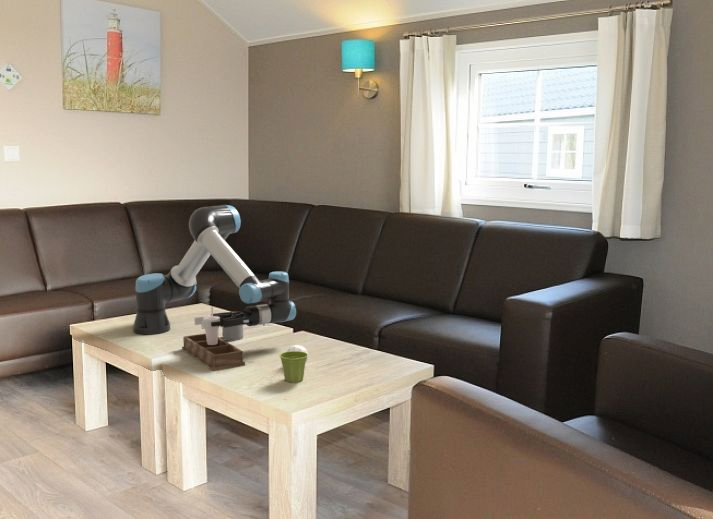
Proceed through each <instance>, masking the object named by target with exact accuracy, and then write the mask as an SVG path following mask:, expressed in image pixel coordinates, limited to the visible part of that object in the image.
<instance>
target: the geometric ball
mask: <svg viewBox="0 0 713 519" xmlns="http://www.w3.org/2000/svg"><path fill="white" fill-rule="evenodd" d="M289 351H300V352H305V353H307V354H308V355H309V353H308V350H307V349H306V348H305V347H304V346H302V345H298V344H294V345H292V346H290V347H289V348H288V349H287V351H286V352H289ZM308 358H309V356H308V357H307V359H306V362H305V364H306V363H307V361H308Z"/></svg>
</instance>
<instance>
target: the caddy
mask: <svg viewBox="0 0 713 519" xmlns="http://www.w3.org/2000/svg"><path fill="white" fill-rule="evenodd" d="M181 348H182V350H183V351H184V352H185V353H187V354H188V355H190V356H191V357H193V358H194V359H196V360H197V361H199V362H200V363H201V364H203V365H205V366H206V367H207V368H209V369H210V370H211V371H218V370H219V371H220V370H224V369H231V368H235V367H243V366H246V362H245V361H244V351H243V350H241V349H240V348H238V347H236V346H234V345H232V344H231V343H229V342H227V340H223V338H221V337H219V336H218V344H216V345H208V344H207V339H206V333H198V334H193V335H184V336H183V346H181Z"/></svg>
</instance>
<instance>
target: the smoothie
mask: <svg viewBox="0 0 713 519" xmlns="http://www.w3.org/2000/svg"><path fill="white" fill-rule="evenodd" d="M210 309H211V310H210V311H211V312H210V313H211V314H210V315H208V316H209V317H204V318H203V321H208V320H215V319H219V321H220V317H217V316H213V314H214V312H213V311H214V310H213V309H214V307H213V306H212V305H211V306H210ZM204 331H205V333H206V339H207V344H208V345H216V344H218V337H219V331H220V326H219V327H214V328H207V329H204ZM205 333H204V334H205Z"/></svg>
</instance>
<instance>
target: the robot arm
mask: <svg viewBox="0 0 713 519" xmlns="http://www.w3.org/2000/svg"><path fill="white" fill-rule="evenodd" d="M241 222H242V220H241V216H240V213H239V212H238V210H237V209H236V207H234V206H233V205H228V204H221V205H212V206H204V207H203V206H202V207H200V208H199V207H198V208H197V209H195V210H194V211H193V212H192V214H191V215H190V218H189V221H188V228H189V232H190V234H191V236H192V238H193V240H194V241H193V242H192V243H191V246H190V248H189V249H188V250H187V251H186V253H185V255H184V256H183V258H182V259H181V261H180V262H179V264H178V265H174V266H173V267H172V268H171V269H170V271H169V272H168V274H166V275H165V274H163V273H160V272H159V273H157V272H156V273H155V272H154V273H146V274H143V275H141V276H139V277H137V278H136V280H135V289H134V290H135V302H136V304H135V305H136V315H135V317H134V318H135V319H134V321H133V326H132V328H133V329H132V330H133V331H134V332H135V334H137V333H138V335H156V334H162V333H166V332H167V333H168V332H169V331H170V330H171V323H170V320H169V318H168V315H167V312H166V304H167V303H171V302H175V301H176V302H178V301H184V300H186V299H189V298H191V297H192V296H193V295H194V294H195V292H196V290H197V286H196V285H197V275H198V274H199V272H200V270H201V269H202V268H203V266H204V265H205V263H206V262H207V260H208V259H209V257H210V256H212V258H213V259H214V260H215V261H216V262H217V264H218V265H219V266H220V267H221V268H222V270H223V271H224V272H225V273H226V274H227V276H229V278H230V279H231V280H232V281H233V282H234V284H235V285H236V286H237V287H238V288H239V291H238V295H239V297H240V301H242V302H243V303H245V304H247V305H248V306H246V307H244V309H243V312H242V311H236V310H232V311H224V312H217V313H215V312H214V313H213V316H217V317H220V321H219V319H215V320H208V321H203V318H204V317H209V316H210V315H204V316H203V315H202V316H197V317H194V325H195V326H199V325H201V329H202V330H205V329H207V328H214V327H219V328H220V327H221V328H222V327H223V326H224V328H226V327H232V326H238V325H243V326H244V325H246V326H248V327H254V326H259V325H260V326H261V325H262V326H263V327H264V326H266V325H268V324H275V323H283V322H287V321H293V320H294V319H295V318H296V316H297V308H296V304H295V303H294V302H293V301H292V300H290V287H289V286H290V280H289V279H290V278H289V274H288V273H287V272H286V271H272V272H269V274H268V279H263V280H259V278H258V277H257V276H256V275H255V274H254V272H253V271H252V270H251V269H250V268H249V266H248V265H247V264H246V263H245V261H244V260H242V258H241V257H240V256H239V255H238V253H236V252H235V250H234V249H233V248H232V247H231V246H230V245H229V244H228V242H227V241H226V239H227V238H228V237H229V235H230V234H235V233H238V232H239V230H240V228H241ZM267 300H268V301H269V303H265V304H258V303H259V302H260V303H261V302H263V301H267ZM250 304H256V305H250ZM249 305H250V306H249ZM134 332H133V333H134Z"/></svg>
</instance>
